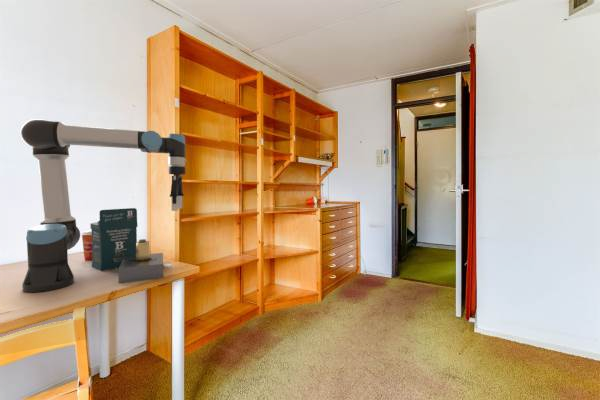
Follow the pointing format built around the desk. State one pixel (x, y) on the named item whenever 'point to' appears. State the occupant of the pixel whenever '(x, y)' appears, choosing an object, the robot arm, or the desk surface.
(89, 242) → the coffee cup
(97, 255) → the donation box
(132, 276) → the housing
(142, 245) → the tan upright cylinder
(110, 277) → the desk surface
